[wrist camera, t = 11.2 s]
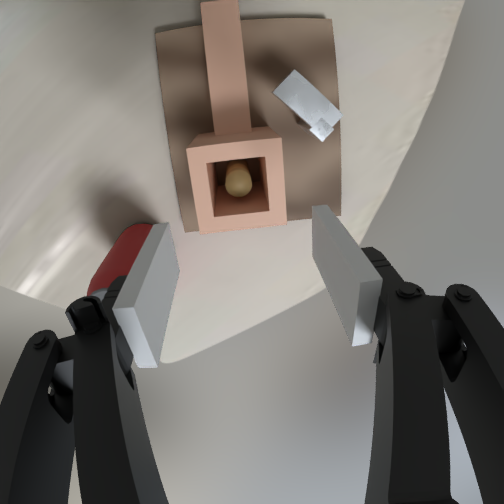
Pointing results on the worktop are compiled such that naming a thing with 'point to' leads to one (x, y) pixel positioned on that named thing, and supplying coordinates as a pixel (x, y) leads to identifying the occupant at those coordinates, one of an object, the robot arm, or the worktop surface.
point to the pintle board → (255, 109)
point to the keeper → (308, 105)
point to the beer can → (119, 259)
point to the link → (233, 135)
